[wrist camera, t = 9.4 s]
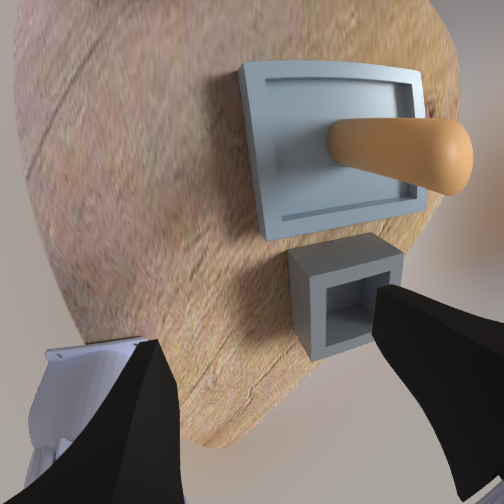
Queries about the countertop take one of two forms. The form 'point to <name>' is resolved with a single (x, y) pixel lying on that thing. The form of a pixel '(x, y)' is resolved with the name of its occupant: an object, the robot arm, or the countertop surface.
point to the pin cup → (339, 291)
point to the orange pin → (405, 150)
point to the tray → (321, 143)
